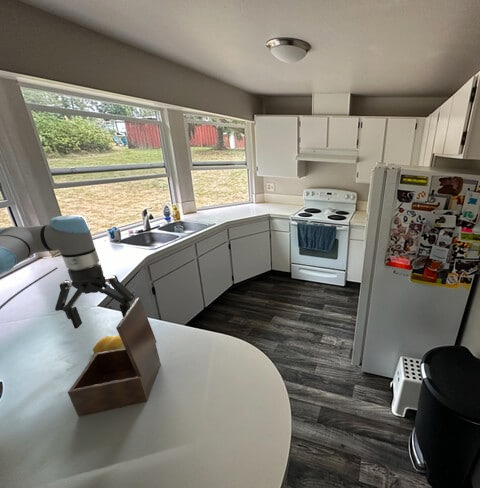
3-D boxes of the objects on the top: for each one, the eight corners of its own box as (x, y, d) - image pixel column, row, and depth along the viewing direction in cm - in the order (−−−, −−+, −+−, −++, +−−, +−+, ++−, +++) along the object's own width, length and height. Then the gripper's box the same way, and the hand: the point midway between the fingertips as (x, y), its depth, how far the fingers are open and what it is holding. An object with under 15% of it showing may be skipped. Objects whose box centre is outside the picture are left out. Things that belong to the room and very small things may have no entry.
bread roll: (119, 355, 85) (116, 346, 84) (89, 357, 84) (86, 348, 82) (133, 338, 93) (130, 329, 91) (105, 340, 91) (102, 331, 90)
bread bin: (78, 416, 66) (67, 392, 62) (103, 375, 78) (95, 353, 75) (147, 401, 70) (140, 378, 67) (160, 364, 82) (155, 343, 79)
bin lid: (115, 327, 61) (119, 326, 61) (136, 298, 73) (139, 297, 73) (138, 377, 67) (141, 376, 67) (153, 342, 79) (156, 341, 79)
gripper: (21, 275, 70) (48, 336, 77) (126, 266, 77) (142, 322, 85) (40, 264, 77) (64, 321, 84) (135, 256, 84) (149, 310, 91)
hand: (103, 322), depth 84 cm, fingers open, 13 cm apart
